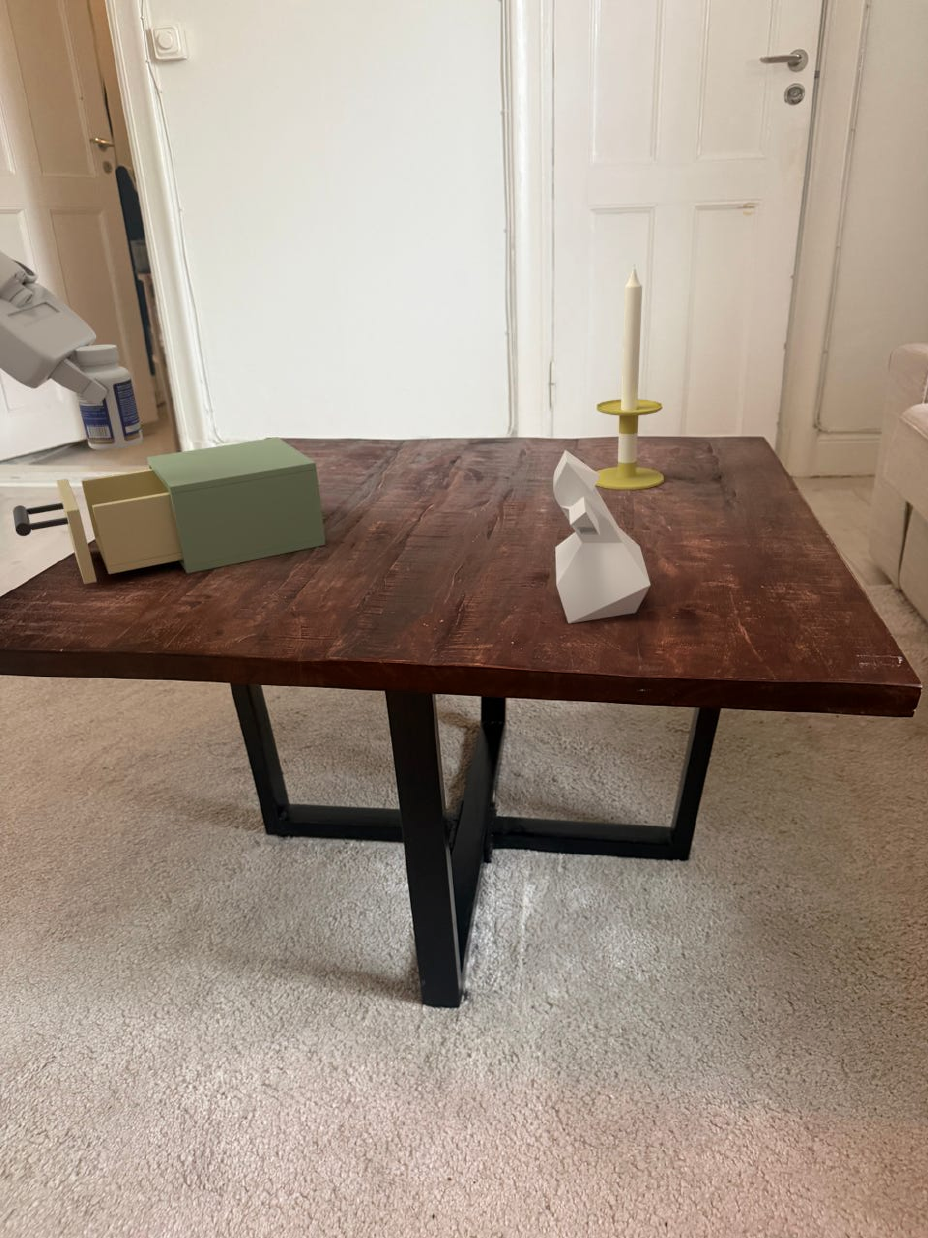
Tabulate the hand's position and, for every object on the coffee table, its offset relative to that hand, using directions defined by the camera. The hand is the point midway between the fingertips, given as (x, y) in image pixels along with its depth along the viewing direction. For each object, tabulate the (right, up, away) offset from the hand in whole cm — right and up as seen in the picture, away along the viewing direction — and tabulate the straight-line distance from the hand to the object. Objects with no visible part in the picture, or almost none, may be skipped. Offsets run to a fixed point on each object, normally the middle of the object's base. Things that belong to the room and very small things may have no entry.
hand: (111, 391), depth 87 cm
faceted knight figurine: (+48, -21, -5) cm, 53 cm away
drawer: (-2, -16, +8) cm, 18 cm away
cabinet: (+10, -14, +14) cm, 22 cm away
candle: (+58, -4, +30) cm, 65 cm away
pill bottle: (0, -5, +2) cm, 6 cm away
